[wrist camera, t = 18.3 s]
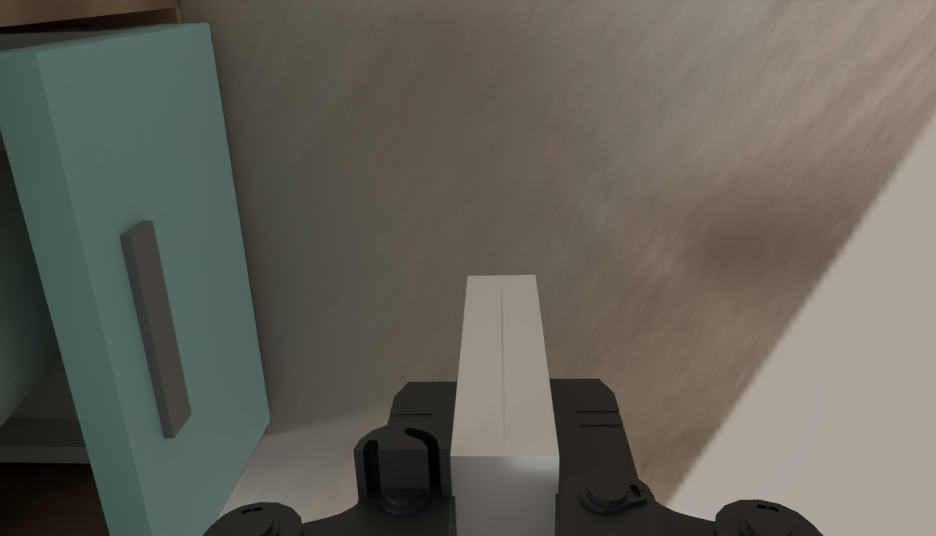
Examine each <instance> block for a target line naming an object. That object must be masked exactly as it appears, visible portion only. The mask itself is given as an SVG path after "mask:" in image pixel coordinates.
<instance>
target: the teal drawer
mask: <svg viewBox="0 0 936 536" xmlns="http://www.w3.org/2000/svg"><path fill="white" fill-rule="evenodd" d="M0 150H6V152H7V156H8V159H9V163H10V167H11V170H12V174H13V178H14V182H15V185H16V189H17V193H18V196H19V200H20V204H21V207H22V211H23V215H24V219H25V222H26V226H27V230H28V233H29V237H30V241H31V245H32V248H33V252H34V256H35V259H36V263H37V267H38V271H39V274H40V278H41V282H42V285H43V289H44V293H45V297H46V300H47V304H48V308H49V311H50V315H51V319H52V323H53V326H54V330H55V334H56V337H57V341H58V345H59V349H60V352H61V356H62V357H61V358H60V359H59V360H58V361H57V362H56V364H55V365H54V366H53V367H52V368H51V369H50V371H49V372H48V373H47V374H46V375H45V376H44V378H43V379H42V380H41V381H40V382H39V383H38V384H37V386H36V387H35V388H34V389H33V390H32V391H31V393H30V394H29V395H28V396H27V397H26V398H25V400H24V401H23V402H22V403H21V404H20V405H19V406H18V408H17V409H16V410H15V411H14V412H13V413H12V415H11V416H10V417H9V418H8V419H7V420H6V422H5V423H4V424H3V425H2V426H1V427H0V462H19V463H90V464H91V467H92V471H93V475H94V478H95V482H96V486H97V490H98V493H99V497H100V501H101V504H102V508H103V512H104V516H105V519H106V523H107V527H108V530H109V534H110V536H202V535H203V534H204V533H205V532H206V531H207V530H208V528H209V527H210V526H211V525H212V524H214V523H215V522H216V520H217V518H218V516H219V514H220V512H221V511H222V509H223V507H224V505H225V503H226V501H227V500H228V498H229V496H230V494H231V492H232V490H233V489H234V487H235V485H236V483H237V481H238V479H239V478H240V476H241V474H242V472H243V470H244V468H245V467H246V465H247V463H248V461H249V459H250V457H251V456H252V454H253V452H254V450H255V448H256V446H257V445H258V443H259V441H260V439H261V437H262V435H263V434H264V432H265V430H266V428H267V426H268V424H269V423H270V421H271V420H270V414H269V407H268V401H267V394H266V388H265V381H264V375H263V368H262V362H261V355H260V349H259V342H258V336H257V330H256V323H255V317H254V310H253V304H252V297H251V291H250V284H249V278H248V271H247V265H246V258H245V252H244V245H243V239H242V232H241V226H240V219H239V213H238V206H237V200H236V193H235V187H234V180H233V174H232V167H231V161H230V154H229V148H228V141H227V135H226V128H225V122H224V115H223V109H222V102H221V96H220V89H219V83H218V77H217V70H216V64H215V57H214V51H213V44H212V38H211V31H210V25H209V23H181V24H146V25H110V26H75V27H40V28H4V29H0Z"/></svg>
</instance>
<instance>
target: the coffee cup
mask: <svg viewBox="0 0 936 536" xmlns="http://www.w3.org/2000/svg"><path fill="white" fill-rule="evenodd" d="M61 357H62V356H61V352H60V349H59V345H58V341H57V337H56V334H55V330H54V326H53V323H52V319H51V315H50V311H49V308H48V304H47V300H46V297H45V293H44V289H43V285H42V282H41V278H40V274H39V271H38V267H37V263H36V259H35V256H34V252H33V248H32V245H31V241H30V237H29V233H28V230H27V226H26V222H25V219H24V215H23V211H22V207H21V204H20V200H19V196H18V193H17V189H16V185H15V182H14V178H13V174H12V170H11V167H10V163H9V159H8V156H7V152H6V150H0V427H1V426H2V425H3V424H4V423H5V422H6V420H7V419H8V418H9V417H10V416H11V415H12V413H13V412H14V411H15V410H16V409H17V408H18V406H19V405H20V404H21V403H22V402H23V401H24V400H25V398H26V397H27V396H28V395H29V394H30V393H31V391H32V390H33V389H34V388H35V387H36V386H37V384H38V383H39V382H40V381H41V380H42V379H43V378H44V376H45V375H46V374H47V373H48V372H49V371H50V369H51V368H52V367H53V366H54V365H55V364H56V362H57V361H58V360H59V359H60V358H61Z"/></svg>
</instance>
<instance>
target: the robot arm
mask: <svg viewBox="0 0 936 536" xmlns="http://www.w3.org/2000/svg"><path fill="white" fill-rule="evenodd" d="M354 458H355V467H356V477H357V487H358V496H359V499H358V503H357V504H356V505H355V506H354V507H352V508H350V509H348V510H346V511H344V512H343V513H341V514H338V515H334V516H331V517H328V518H324V519H320V520H316V521H312V522H307V523H303V524H302V522H301V517H300V516H299V515H298V514H297V513H296V512H295V511H294V510H293V509H292V508H291V507H288V506H285V505H282V504H280V503H269V502H259V503H254V504H250V505H245V506H241V507H239V508H237V509H235V510H233V511H231V512H229V513H227V514H225V515H223V516H222V517H221V518H220V519H218V520H217V521H216V522H215V523H214V524H212V525H211V526H210V527H209V528H208V530H207V531H206V532H205V533H204V534H203V535H202V536H823V535H822V534H821V533H820V532H819V531H818V530H817V528H816V527H815V526H814V525H813V524H811V523H810V522H809V521H808V520H806V519H805V518H804V517H803V516H802V515H800V514H799V513H798V512H796V511H793V510H791V509H789V508H787V507H785V506H782V505H780V504H777V503H773V502H768V501H763V500H739V501H736V502H733V503H730V504H728V505H725V506H724V507H723V508H722V509H721V510H720V511H719V512H718V513H717V514H716V519H715V522H714V521H709V520H705V519H701V518H696V517H692V516H688V515H684V514H681V513H678V512H675V511H672V510H670V509H668V508H666V507H664V506H662V505H660V504H659V503H658V502H656V501H655V497H654V496H653V494H652V492H651V491H650V489H649V487H648V486H647V485H646V484H644V483H643V482H642V481H640V480H639V479H638V476H637V472H636V469H635V465H634V462H633V458H632V455H631V451H630V447H629V444H628V440H627V437H626V433H625V430H624V428H623V423H622V419H621V416H620V414H619V408H618V405H617V401H616V398H615V394H614V393H613V392H612V391H611V390H610V389H609V388H608V387H607V386H606V385H605V384H604V383H603V382H602V381H601V380H600V379H549V374H548V366H547V359H546V351H545V343H544V336H543V328H542V320H541V313H540V305H539V298H538V290H537V282H536V275H486V276H468V277H467V287H466V298H465V308H464V319H463V329H462V340H461V350H460V361H459V371H458V381H457V382H408V383H407V384H406V385H405V386H404V387H403V389H402V390H401V391H400V392H399V393H398V394H397V395H396V396H395V397H394V400H393V404H392V408H391V412H390V417H389V421H388V425H387V426H384V427H381V428H378V429H375V430H373V431H371V432H370V433H368V434H367V435H366V436H364V437H363V438H361V439H360V441H359V442H358V444H357V445H356V447H355V449H354Z"/></svg>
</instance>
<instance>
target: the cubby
mask: <svg viewBox="0 0 936 536" xmlns="http://www.w3.org/2000/svg"><path fill="white" fill-rule="evenodd" d="M181 23H182V17H181V11H180V5H179V0H0V29H4V28H40V27H75V26H110V25H146V24H181ZM0 536H110V534H109V530H108V527H107V523H106V519H105V516H104V512H103V508H102V504H101V501H100V497H99V493H98V490H97V486H96V482H95V478H94V475H93V471H92V467H91V464H90V463H19V462H0Z"/></svg>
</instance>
